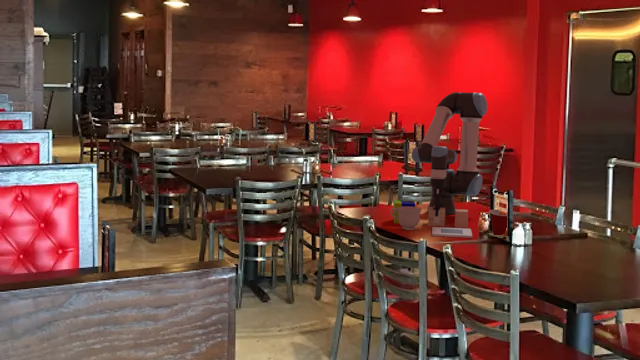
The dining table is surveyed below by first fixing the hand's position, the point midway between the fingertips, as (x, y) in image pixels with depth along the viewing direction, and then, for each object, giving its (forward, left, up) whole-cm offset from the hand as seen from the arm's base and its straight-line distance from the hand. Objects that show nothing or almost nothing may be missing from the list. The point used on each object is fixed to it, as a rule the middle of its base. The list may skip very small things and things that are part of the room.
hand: (436, 220), depth 399 cm
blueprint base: (+10, +21, -2) cm, 23 cm away
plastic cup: (-3, +39, -2) cm, 39 cm away
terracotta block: (-7, +10, -2) cm, 12 cm away
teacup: (+22, +2, -2) cm, 22 cm away
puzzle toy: (+9, -14, -2) cm, 17 cm away
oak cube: (0, 0, -2) cm, 2 cm away
